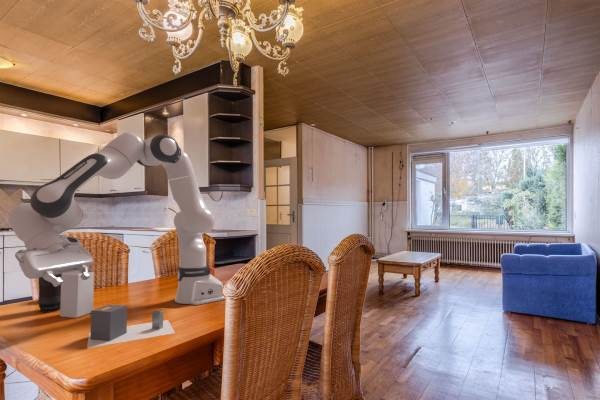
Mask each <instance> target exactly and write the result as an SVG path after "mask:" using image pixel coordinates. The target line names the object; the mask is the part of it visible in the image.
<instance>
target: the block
mask: <svg viewBox="0 0 600 400" xmlns="http://www.w3.org/2000/svg"><path fill="white" fill-rule="evenodd" d="M127 326H128V305H122V304H105V305H103V306H101V307H98V308H95V309H94V308H93V310H91V313H90V332H91V333H90V339H91V340H102V341H111V340H113V339H116V338H118V337H120V336H122V335H124V334H126V333H127Z"/></svg>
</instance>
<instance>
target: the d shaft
mask: <svg viewBox="0 0 600 400" xmlns="http://www.w3.org/2000/svg"><path fill="white" fill-rule="evenodd" d="M151 314H152V315H151V317H152V318H151V320H152V321H151V322H152V329H159V330H160V329H162V328H163V321H164V310H162V309H158V310H155V311H153V312H152V313H151Z"/></svg>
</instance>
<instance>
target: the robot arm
mask: <svg viewBox="0 0 600 400" xmlns="http://www.w3.org/2000/svg"><path fill="white" fill-rule="evenodd" d="M181 149H182V148H180V146H179V143H178V142H177V140H176V139H175V138H174V137H173V136H171V135H169V134H162V133H161V134H158V135H154V136H151V137H148V138H146V139H141V138H140V136H138V135H137V134H135V133H133V132H129V131H127V132H124V133H121V134H119V135H118V136H117V137H115V138H114V139H112V140H111V141H110V142H108V143H107V144H105V146H104V147H103V148H102V149H101V150H99V151H98V152H95V153H91V154H89V155H87V156H85V157H84V158H82V159H81V160H80V161H77V163H75V164H73V166H72V167H70V168H68V169H67V170H66V171H64V172H63V173H62V174H61V175H60V176H58V177H56V178H55V179H53V180H51V181H49V182H46V183H44V184H42V185H39V186H38V187H37V188H36V189H35V190H34V191H33V192H32V193H31V195H30V201H29V202H23V203H20V204H18V205H17V206H15V207H14V208H12V209H11V210H10V212H9V214H8V222H9V225H10V228H11V229H12V231H13V232H14V234H15V235H16V237H17V238H18V239H19V240H20V241H22V242H23V244H24V246H25V249H19V250H18V251H17V252H15V254H14V257H15V258H16V260H17V261H18V265H19V267H20V268H21V271H22V273H23V275H24V276H25V277H26V278H28V279H30V280H32V279H39V277H43V278H44V279H45V280H47V281H49V282H51V283H52V284H53V285H54V286H55V287H56V286H60V285H61V284H62V283H63V281H62V280H61V278H57V277H55V276H54V275H55V274H61V273H66V272H71V271H77V270H78V271H79V272H82V275H81V276H80V277H81V278H82V280H87V279H89V277H90V275H89V273H88V268H90V266H91V265H92V264H93V263H94V257H93V256H92V254H90V252H89V251H88V249H87V248H86V247H85V246H83V245H82V244H81V241H80V239H79V238H77V237H71V236H67V235H64V234H62V233H65V232H67V231H69V230H72V229H73V228H75V227H77V226H78V225H79V224H80V223H81V222H82V221H83V217H84V213H83V210H82V208H81V207H80V205H79V204H78V202H77V201H76V199H75V194H76V192H77V191H78V190H79V189H81V188H82V187H83V186H84V185H86V184H87V183H88V182H90V180H92V179H93V178H95V177H97V176H98V177H100V176H101V177H103V179H107V180H108V179H109V180H117V179H120V178H121V177H122V176H124V175H125V174H126V173H128V172H129V170H131V168H132V167H133V166H134V165H135V164H136V163H137V164H139V165H140V166H143V167H146V168H147V167H148V168H151V167H156V166H161V167H163V169H164V170H165V171H166V177H167V180H168V184H169V187H170V191H171V195H172V198H173V200H174V202H175V203H176V204H177V206H178V207H179V210H180V211H178V212H177V213H176V214H175V215H174V218H173V225H174V227H175V231H176V236H177V241H178V249H179V253H178V255H179V262H178V264H179V266H178V268H177V280H178V284H177V290H176V294H175V299H174V302H175V303H176V304H184V305H185V304H186V305H194V306H198V305H204V304H208V303H213V302H219V301H224V300H226V299H225V297H224V296H223V294H222V289H223V287H224V285H223V282H222V281H221V280H220V279H218V278H217V277H215V276H214V275H213V274H211V273H214V271H215V268H214V267H212V266H209V265H207V246H206V244H205V242H204V238H203V235H204V234H207V233H209V232H211V231H212V230H213V229H214V227H215V223H216V219H215V217H214V214H213V213H212V212H211V211H210V210H209V208H208V206H207V205H206V202H205V200H204V198H203V196H202V194H201V193H202V192H201V191H200V187H199V185H198V181H197V176H196V172H195V170H194V166H193V164H192V162H191V159H190V157H189V155H188V154H187V153H186V152H185V151H182V150H181Z"/></svg>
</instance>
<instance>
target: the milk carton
mask: <svg viewBox="0 0 600 400" xmlns="http://www.w3.org/2000/svg"><path fill="white" fill-rule="evenodd" d="M88 273H89V275H90V277H89V279H87V280H82V278H81V277H80V276H81V275H82V272H79V271H78V270H77V271H71V272H66V273H62V275H61V280H62V281H63V283H62V284H61V306H60V310H59V312H60V313H59V316H60V318H61V317H62V318H75V319H77V318H80V317H83V316H86V315H88V314H91V310H94V290H95V289H94V287H95V283H94V282H95V278H94V277H95V271H94V270H93V269H92V268H90V267H89V268H88Z"/></svg>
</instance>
